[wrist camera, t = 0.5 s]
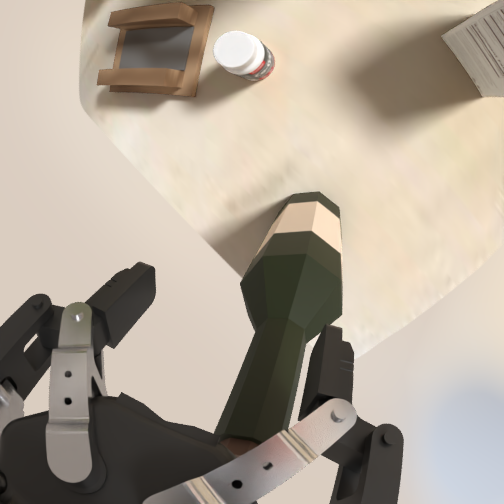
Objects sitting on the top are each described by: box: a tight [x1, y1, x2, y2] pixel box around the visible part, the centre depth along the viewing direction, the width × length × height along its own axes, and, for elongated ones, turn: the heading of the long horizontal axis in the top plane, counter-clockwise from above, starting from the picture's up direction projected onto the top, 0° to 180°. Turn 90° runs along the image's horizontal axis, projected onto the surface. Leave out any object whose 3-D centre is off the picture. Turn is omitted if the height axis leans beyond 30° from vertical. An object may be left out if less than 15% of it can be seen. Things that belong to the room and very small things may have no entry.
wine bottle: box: [214, 192, 342, 458], centre depth 23 cm, size 8×8×30 cm
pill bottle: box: [213, 31, 275, 81], centre depth 25 cm, size 5×5×8 cm
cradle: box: [97, 2, 214, 97], centre depth 27 cm, size 13×14×6 cm
